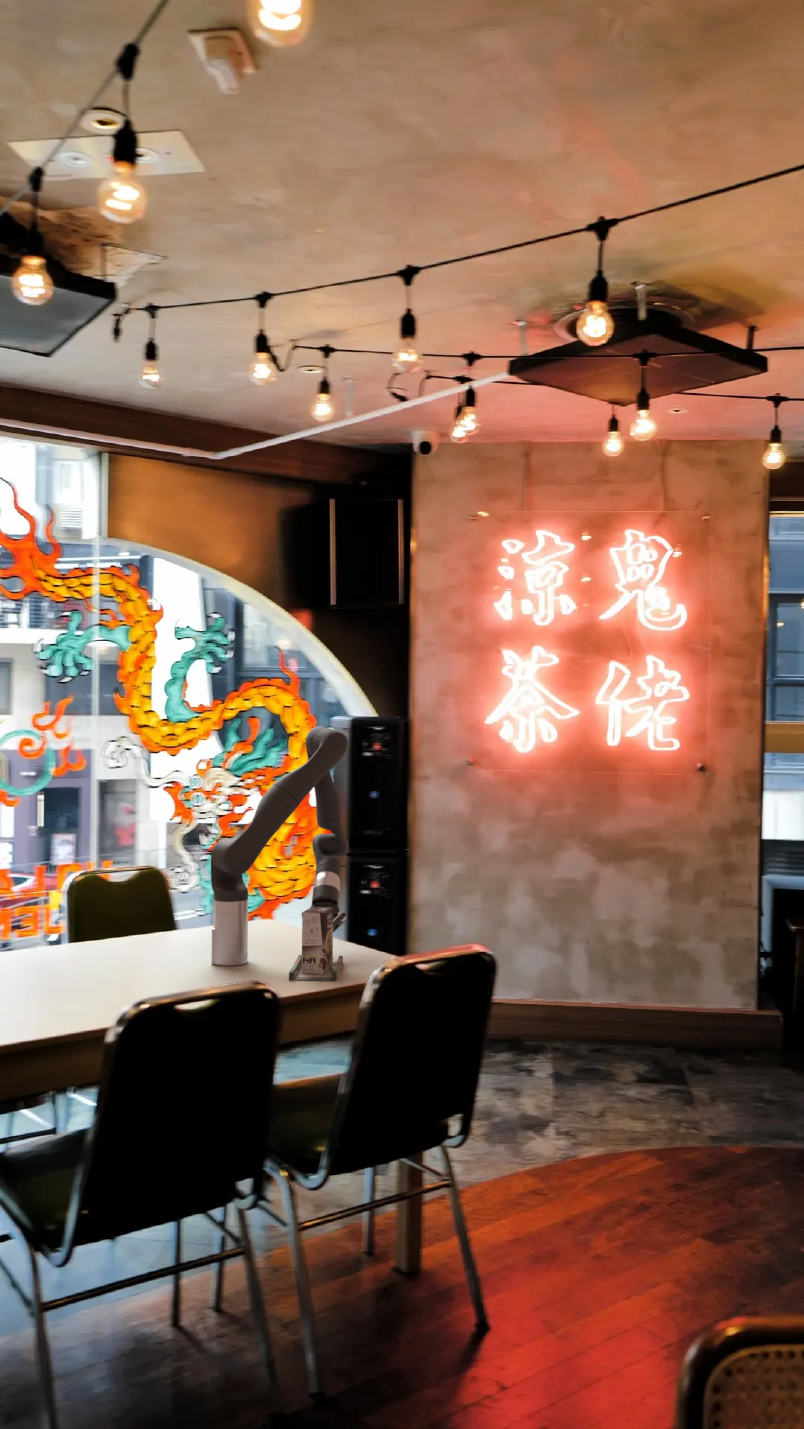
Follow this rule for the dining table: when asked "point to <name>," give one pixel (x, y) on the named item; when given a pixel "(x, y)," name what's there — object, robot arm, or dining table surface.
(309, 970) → the coffee box
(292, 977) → the lane frame
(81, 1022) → the dining table surface
